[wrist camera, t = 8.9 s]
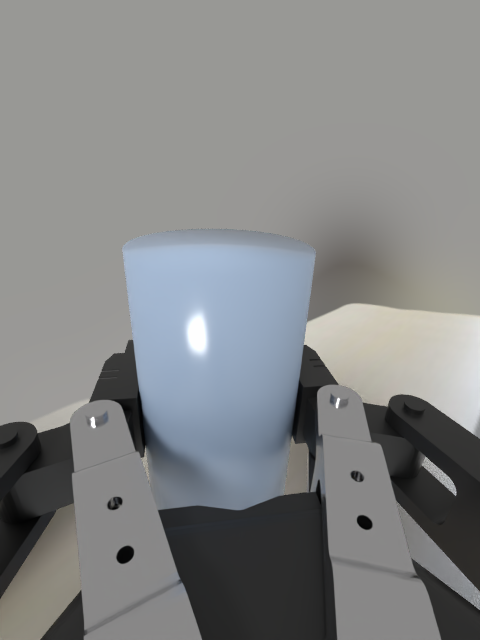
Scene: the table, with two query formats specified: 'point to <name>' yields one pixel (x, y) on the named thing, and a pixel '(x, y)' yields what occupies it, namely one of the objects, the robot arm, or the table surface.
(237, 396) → the pale blue tumbler
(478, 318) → the table surface
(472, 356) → the table surface
